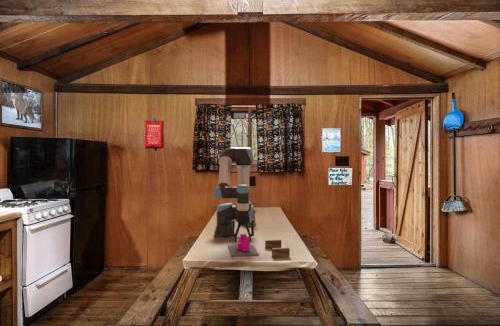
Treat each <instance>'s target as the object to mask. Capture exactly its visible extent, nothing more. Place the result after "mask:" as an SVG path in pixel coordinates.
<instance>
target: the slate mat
mask: <svg viewBox="0 0 500 326" xmlns="http://www.w3.org/2000/svg"><path fill="white" fill-rule="evenodd" d="M227 247H228V251H229V255H230V256H231V258H232V257H252V256H253V257H255V256H256V257H257V256H260V254H259V252H258V251H257V249H256V248H255V245H254V244H250V243H249V251H243V250H238V249H237V248H236V244H229V245H227Z"/></svg>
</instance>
